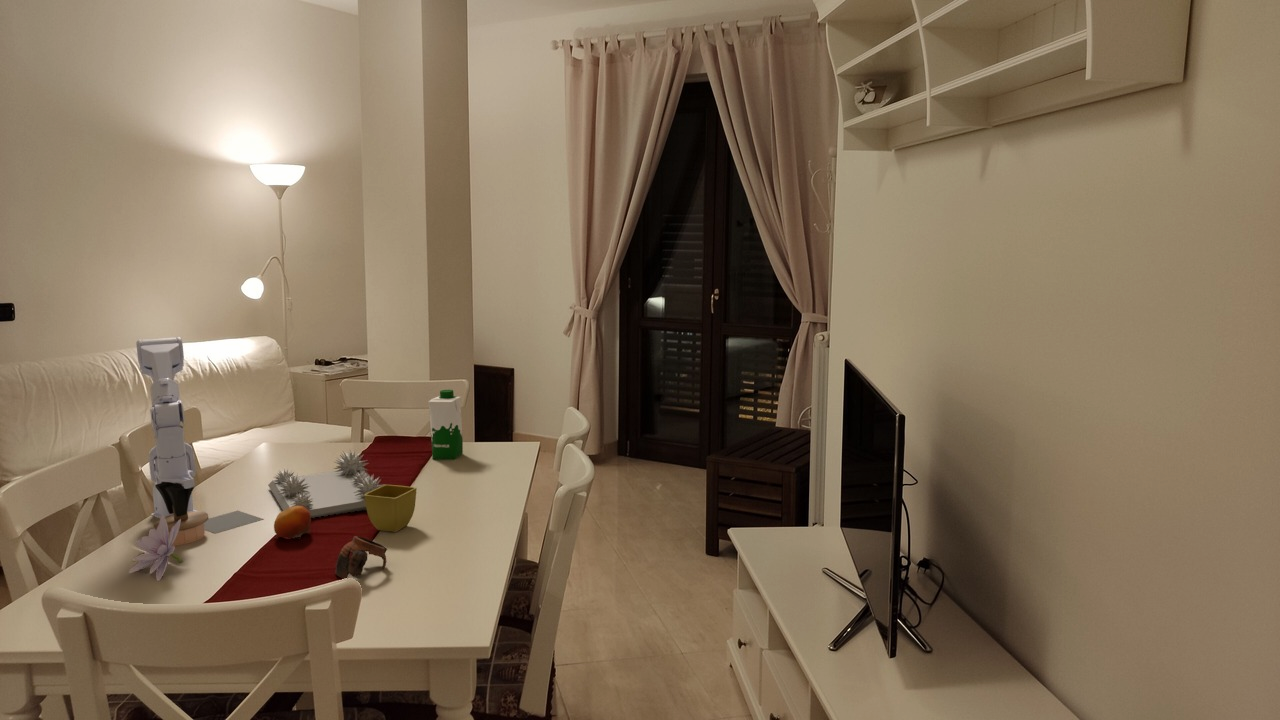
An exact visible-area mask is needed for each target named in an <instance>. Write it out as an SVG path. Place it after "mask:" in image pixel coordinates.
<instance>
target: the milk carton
mask: <svg viewBox="0 0 1280 720" xmlns="http://www.w3.org/2000/svg"><path fill="white" fill-rule="evenodd" d="M427 403H428V408H429V409H428V410H429V419H430V422H429V423H430V436H431V437H430V438H431V454H432V456H431V457H432V460H450V461H451V460H453V461H454V460H456V459H457V458H459V457H461V456H462V455H463V454H464V453H463V452H464V451H463V449H464V447H463V445H464V443H463V439H464V438H463V424H462V422H463V421H462V396H457V395H456V396H455V395H454V390H453V389H443V390H439V396H436V397H433V398H430V400H428V401H427Z"/></svg>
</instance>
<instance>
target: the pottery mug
mask: <svg viewBox="0 0 1280 720" xmlns="http://www.w3.org/2000/svg"><path fill="white" fill-rule="evenodd" d="M387 551H388V548H387V547H386V546H385V545H383V544H381V543H378V542H375V541H374V540H371V539H369V538H366V537H362V536H358V535H354V536H353V538H352V540H351V541H349V542H347V543H346V544H345V545H344V546H343V547H342V548H341V550H340V552H339V554H338V557H337V561H336V564H335V571H334V574H335V575H336V576H337V577H339V578H341V579H343V580H345V579H344V578H347V577H348V575H350V576H351V577H354V578H355V577H359V576H362V573H363V570H364V568H365V567H364V566H366V562H367V561H368V555H372V556H375V557H379V558H381V559H382V561H383V562H382V566H381V569H382V570H385V568H386V566H387V555H386V552H387ZM348 578H349V577H348ZM348 578H347V579H348Z"/></svg>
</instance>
